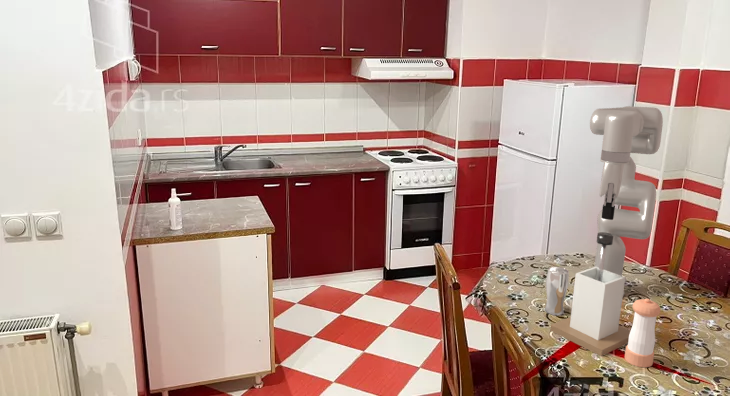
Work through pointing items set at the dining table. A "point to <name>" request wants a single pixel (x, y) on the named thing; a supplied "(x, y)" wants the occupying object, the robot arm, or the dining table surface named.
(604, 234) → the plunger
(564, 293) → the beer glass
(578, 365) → the dining table surface
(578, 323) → the white pen holder
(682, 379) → the dining table surface
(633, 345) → the salt shaker
